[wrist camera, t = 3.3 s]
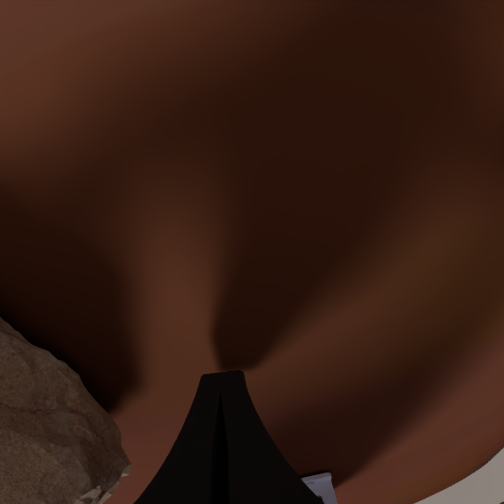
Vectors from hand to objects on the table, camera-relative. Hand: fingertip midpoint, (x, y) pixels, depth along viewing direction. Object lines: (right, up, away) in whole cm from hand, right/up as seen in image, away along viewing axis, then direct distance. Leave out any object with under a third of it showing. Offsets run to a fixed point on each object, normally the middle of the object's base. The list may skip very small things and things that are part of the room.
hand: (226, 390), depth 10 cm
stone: (-11, -1, +1) cm, 11 cm away
